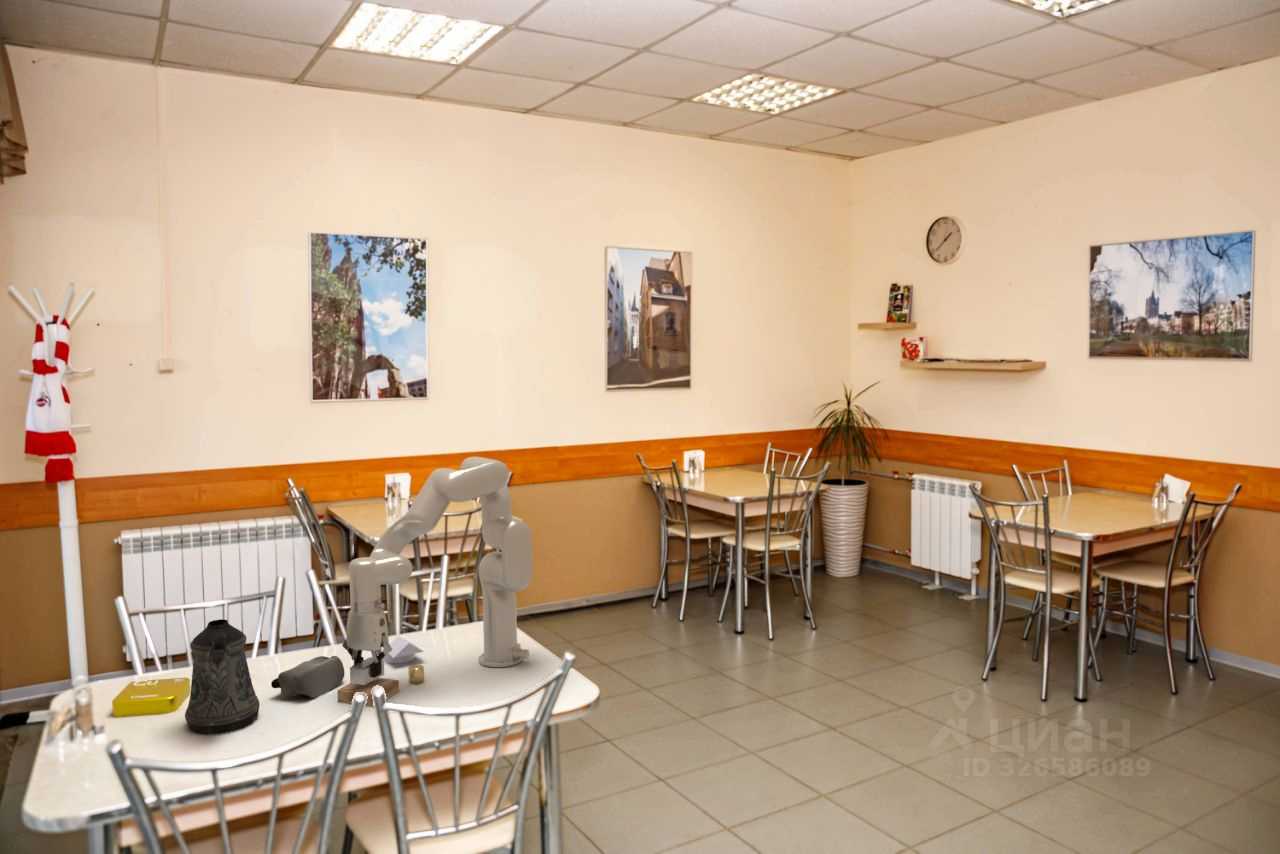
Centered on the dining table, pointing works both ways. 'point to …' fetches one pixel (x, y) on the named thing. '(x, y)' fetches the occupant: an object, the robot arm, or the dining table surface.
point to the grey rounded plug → (311, 677)
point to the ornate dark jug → (220, 682)
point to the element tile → (151, 697)
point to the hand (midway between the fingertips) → (367, 674)
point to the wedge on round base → (401, 651)
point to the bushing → (416, 674)
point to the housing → (364, 672)
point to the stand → (368, 690)
